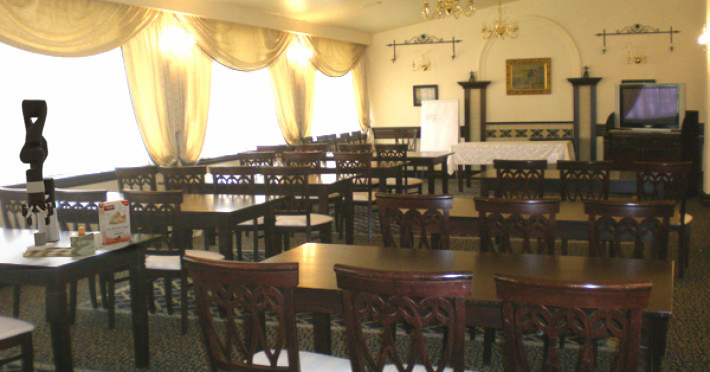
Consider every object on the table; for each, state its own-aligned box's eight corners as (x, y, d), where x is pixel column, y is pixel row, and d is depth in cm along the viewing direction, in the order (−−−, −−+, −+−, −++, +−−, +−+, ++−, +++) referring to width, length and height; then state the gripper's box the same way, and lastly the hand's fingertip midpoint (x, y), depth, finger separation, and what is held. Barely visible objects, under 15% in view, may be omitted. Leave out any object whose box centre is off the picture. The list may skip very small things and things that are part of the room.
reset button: (81, 237, 301) (80, 227, 301) (86, 237, 301) (85, 227, 301) (77, 238, 299) (76, 228, 298) (83, 238, 298) (82, 228, 298)
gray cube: (27, 250, 299) (25, 234, 298) (38, 246, 308) (37, 230, 307) (43, 250, 298) (41, 234, 297) (54, 246, 307) (53, 230, 306)
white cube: (97, 244, 322) (96, 230, 321) (105, 245, 317) (104, 231, 317) (84, 246, 316) (83, 233, 316) (92, 248, 312) (90, 234, 311)
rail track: (23, 256, 299) (21, 237, 298) (36, 251, 309) (34, 233, 308) (83, 255, 295) (82, 236, 294) (95, 251, 305) (93, 232, 304)
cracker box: (107, 245, 319) (103, 203, 316) (100, 244, 322) (96, 202, 320) (131, 240, 330) (128, 199, 327) (125, 239, 333) (121, 199, 331)
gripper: (54, 189, 303) (57, 223, 304) (26, 190, 304) (29, 224, 306) (45, 191, 295) (48, 226, 297) (16, 192, 297) (19, 227, 299)
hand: (39, 225), depth 302 cm, fingers open, 8 cm apart
